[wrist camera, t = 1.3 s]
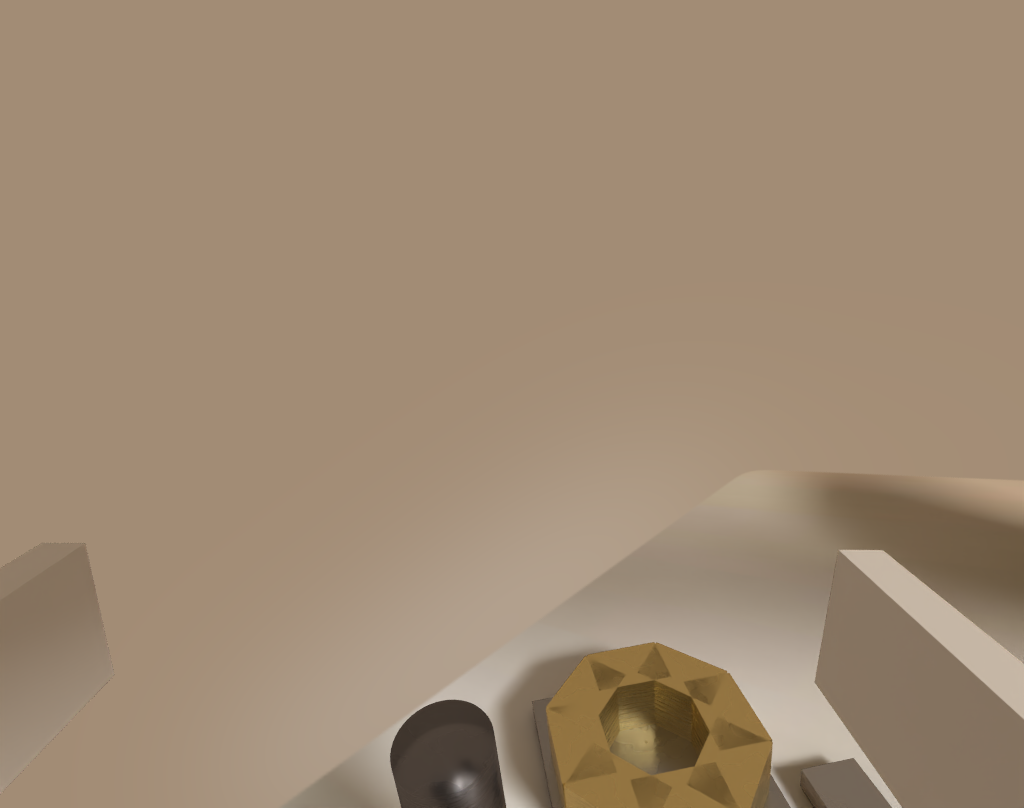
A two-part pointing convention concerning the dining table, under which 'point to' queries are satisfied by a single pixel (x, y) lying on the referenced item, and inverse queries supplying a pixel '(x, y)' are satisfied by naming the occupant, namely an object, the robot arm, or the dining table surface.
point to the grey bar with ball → (841, 786)
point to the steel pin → (447, 759)
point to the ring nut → (654, 735)
